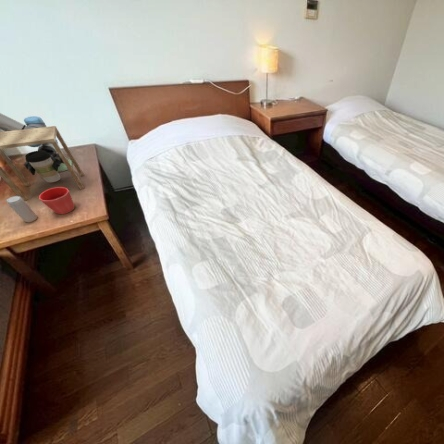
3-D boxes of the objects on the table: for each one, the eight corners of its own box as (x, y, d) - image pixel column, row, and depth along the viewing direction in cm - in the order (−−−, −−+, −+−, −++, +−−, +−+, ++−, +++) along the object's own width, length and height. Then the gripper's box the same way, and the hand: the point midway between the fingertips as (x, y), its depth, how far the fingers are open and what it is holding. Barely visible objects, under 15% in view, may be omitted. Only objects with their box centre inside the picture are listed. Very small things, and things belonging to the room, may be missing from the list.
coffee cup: (50, 186, 131) (32, 160, 121) (37, 181, 133) (18, 156, 123) (69, 177, 138) (53, 152, 127) (56, 172, 140) (39, 148, 130)
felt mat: (41, 175, 140) (40, 174, 140) (43, 163, 148) (42, 162, 148) (71, 169, 146) (71, 169, 146) (72, 159, 155) (71, 158, 154)
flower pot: (79, 211, 121) (68, 196, 115) (50, 219, 116) (37, 203, 110) (78, 200, 127) (68, 184, 121) (51, 206, 122) (39, 190, 116)
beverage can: (32, 214, 117) (15, 194, 109) (40, 217, 116) (23, 197, 108) (21, 221, 114) (2, 200, 106) (29, 223, 113) (11, 203, 105)
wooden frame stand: (22, 201, 123) (-24, 148, 104) (26, 184, 133) (-15, 133, 113) (84, 188, 135) (53, 138, 115) (83, 174, 144) (55, 125, 125)
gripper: (74, 154, 148) (73, 172, 134) (26, 161, 138) (21, 181, 125) (67, 142, 143) (65, 160, 129) (17, 148, 133) (10, 168, 120)
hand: (43, 170), depth 127 cm, fingers closed on coffee cup, 9 cm apart
